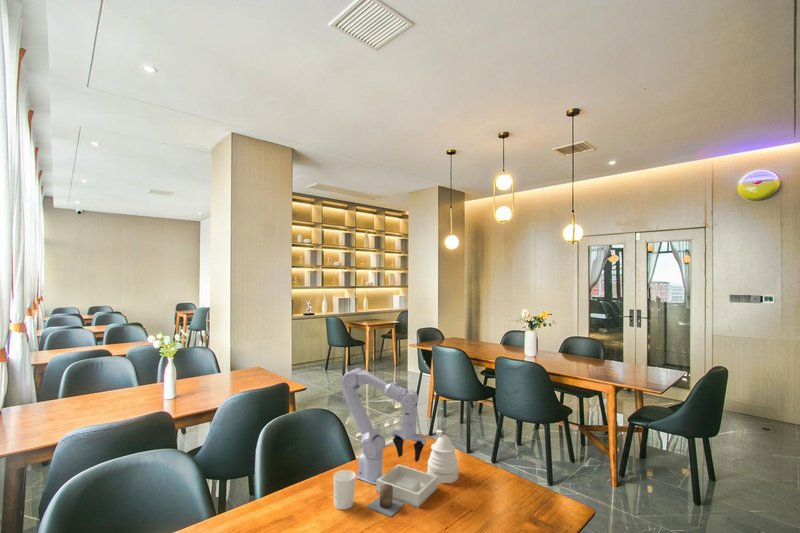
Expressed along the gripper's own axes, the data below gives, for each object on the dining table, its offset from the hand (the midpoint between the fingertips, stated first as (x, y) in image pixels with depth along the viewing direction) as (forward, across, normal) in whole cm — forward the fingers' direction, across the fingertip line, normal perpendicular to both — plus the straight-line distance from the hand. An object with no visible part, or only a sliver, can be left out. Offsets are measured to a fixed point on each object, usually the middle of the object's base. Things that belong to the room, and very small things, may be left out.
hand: (408, 458), depth 148 cm
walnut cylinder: (+10, 0, -17) cm, 19 cm away
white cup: (+10, -13, -24) cm, 29 cm away
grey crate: (+10, +1, -3) cm, 11 cm away
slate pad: (+10, 0, -17) cm, 20 cm away
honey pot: (+11, +8, +15) cm, 20 cm away
